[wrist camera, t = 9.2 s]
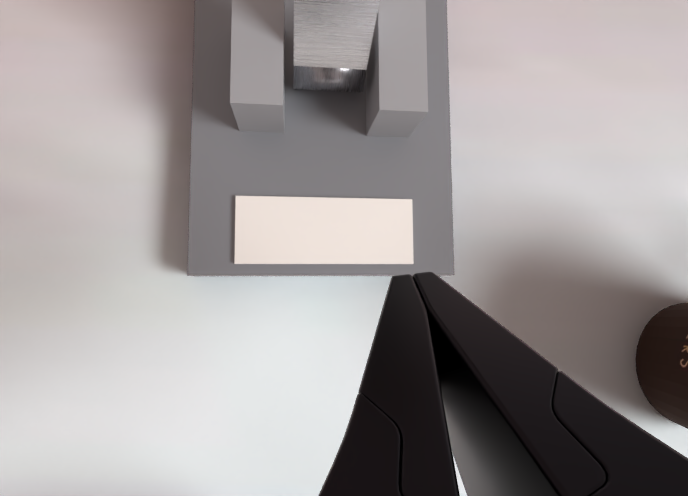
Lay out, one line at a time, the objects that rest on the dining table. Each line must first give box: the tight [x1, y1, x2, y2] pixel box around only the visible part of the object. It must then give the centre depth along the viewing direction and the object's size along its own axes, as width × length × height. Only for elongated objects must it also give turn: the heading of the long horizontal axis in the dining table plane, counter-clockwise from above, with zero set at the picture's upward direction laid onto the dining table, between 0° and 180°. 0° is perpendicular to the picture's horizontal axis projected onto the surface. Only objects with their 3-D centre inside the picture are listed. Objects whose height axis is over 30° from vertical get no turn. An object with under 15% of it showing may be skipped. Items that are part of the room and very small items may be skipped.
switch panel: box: [187, 0, 454, 276], centre depth 19 cm, size 18×12×4 cm, turn 0°
